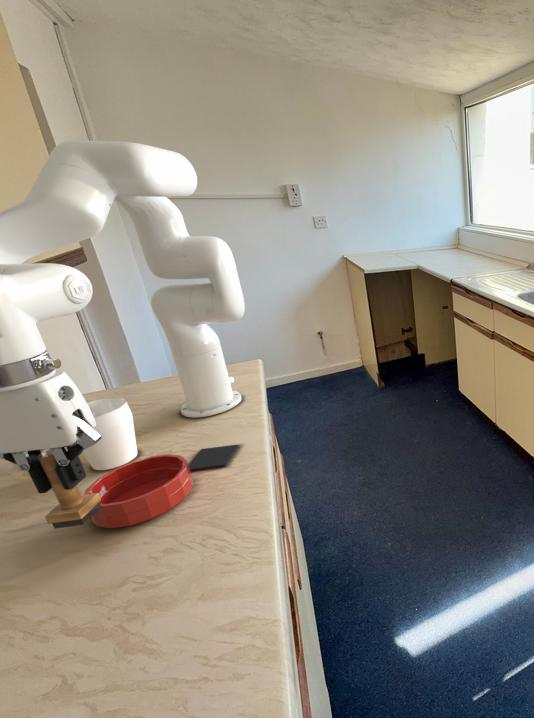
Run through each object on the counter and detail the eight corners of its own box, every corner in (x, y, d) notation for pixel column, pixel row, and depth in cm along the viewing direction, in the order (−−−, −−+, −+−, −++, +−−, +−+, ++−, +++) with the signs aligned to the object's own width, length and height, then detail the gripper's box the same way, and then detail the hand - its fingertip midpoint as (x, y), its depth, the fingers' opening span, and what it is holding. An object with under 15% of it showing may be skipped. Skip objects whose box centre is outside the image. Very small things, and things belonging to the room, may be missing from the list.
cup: (107, 477, 76) (85, 423, 72) (71, 471, 77) (48, 417, 73) (156, 450, 84) (139, 399, 80) (123, 444, 86) (104, 395, 82)
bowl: (126, 482, 74) (117, 460, 73) (206, 471, 77) (200, 450, 76) (72, 537, 62) (60, 512, 61) (169, 522, 65) (161, 498, 64)
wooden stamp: (73, 510, 61) (44, 446, 57) (104, 506, 62) (77, 443, 58) (51, 530, 57) (18, 463, 53) (84, 525, 58) (54, 460, 54)
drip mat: (202, 450, 84) (201, 448, 84) (239, 446, 85) (238, 444, 85) (185, 471, 77) (184, 469, 77) (225, 466, 79) (225, 464, 79)
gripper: (104, 354, 56) (144, 460, 63) (-41, 364, 53) (18, 476, 59) (62, 377, 50) (112, 493, 56) (-107, 390, 46) (-33, 514, 52)
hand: (63, 484), depth 58 cm, fingers closed on wooden stamp, 2 cm apart
